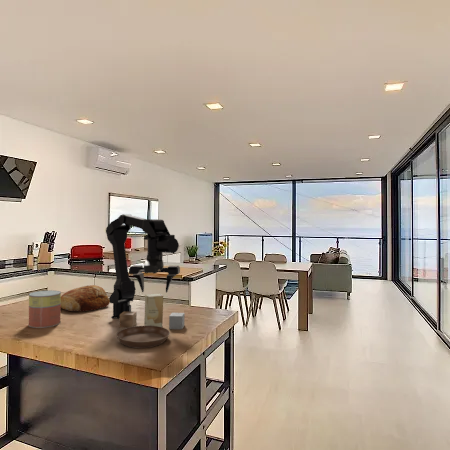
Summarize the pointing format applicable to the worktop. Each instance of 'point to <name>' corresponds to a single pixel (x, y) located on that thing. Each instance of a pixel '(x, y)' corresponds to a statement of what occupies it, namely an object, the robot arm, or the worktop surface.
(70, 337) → the worktop surface
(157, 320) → the skincare box
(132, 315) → the walnut block
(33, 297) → the canned food
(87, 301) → the bread
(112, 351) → the worktop surface
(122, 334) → the plant saucer
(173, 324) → the slate grey block
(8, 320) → the worktop surface
